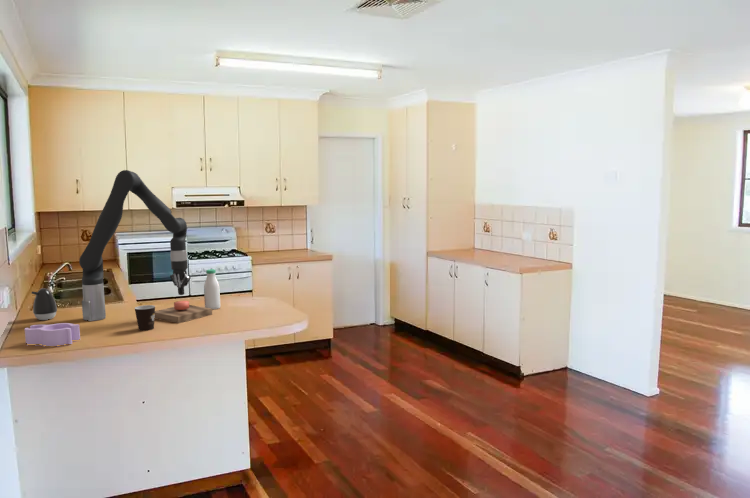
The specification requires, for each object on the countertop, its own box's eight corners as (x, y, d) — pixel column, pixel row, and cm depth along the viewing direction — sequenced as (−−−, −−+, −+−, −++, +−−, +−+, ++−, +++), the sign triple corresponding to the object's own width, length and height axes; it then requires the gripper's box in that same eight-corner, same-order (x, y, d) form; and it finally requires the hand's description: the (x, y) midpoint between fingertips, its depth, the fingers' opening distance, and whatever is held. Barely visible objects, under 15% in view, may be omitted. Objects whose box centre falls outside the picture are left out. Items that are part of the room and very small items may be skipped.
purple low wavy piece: (19, 347, 248) (18, 330, 247) (37, 339, 260) (36, 323, 259) (68, 347, 247) (67, 330, 247) (83, 338, 260) (82, 322, 259)
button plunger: (180, 310, 292) (180, 304, 292) (171, 308, 296) (170, 302, 295) (192, 307, 298) (191, 301, 297) (182, 306, 302) (182, 300, 301)
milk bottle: (223, 307, 315) (221, 269, 313) (212, 310, 309) (210, 271, 306) (213, 306, 320) (211, 268, 317) (201, 308, 313) (199, 270, 311)
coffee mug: (144, 332, 268) (142, 310, 267) (131, 330, 272) (130, 308, 271) (166, 326, 278) (164, 305, 276) (153, 324, 282) (152, 303, 281)
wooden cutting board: (178, 323, 283) (178, 316, 283) (151, 318, 295) (151, 311, 294) (212, 314, 300) (211, 308, 300) (185, 310, 311) (185, 304, 311)
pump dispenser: (30, 319, 296) (27, 288, 294) (53, 315, 303) (50, 285, 301) (37, 322, 289) (35, 291, 287) (61, 318, 296) (58, 288, 295)
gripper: (194, 259, 293) (196, 294, 295) (176, 257, 301) (178, 292, 303) (181, 261, 287) (183, 297, 289) (163, 259, 294) (166, 294, 297)
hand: (181, 294), depth 296 cm, fingers closed
